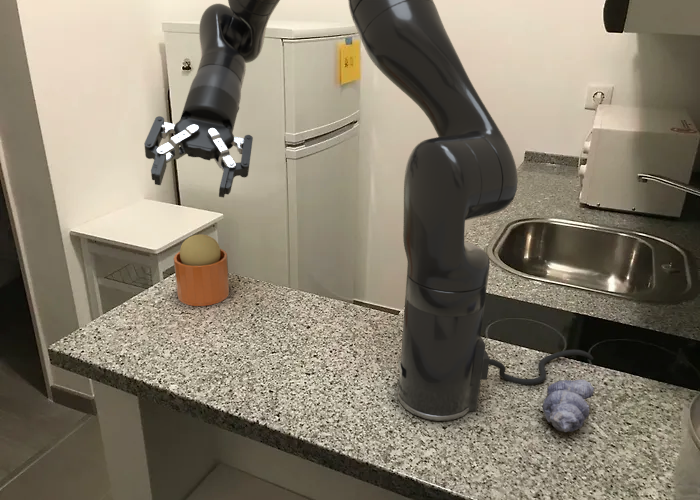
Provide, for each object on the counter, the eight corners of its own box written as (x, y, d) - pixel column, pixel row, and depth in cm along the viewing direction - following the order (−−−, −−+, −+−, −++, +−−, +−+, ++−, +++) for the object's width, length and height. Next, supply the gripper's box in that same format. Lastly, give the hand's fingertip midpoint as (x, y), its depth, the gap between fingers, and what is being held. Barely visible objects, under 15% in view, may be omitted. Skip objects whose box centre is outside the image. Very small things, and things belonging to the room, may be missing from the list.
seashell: (561, 401, 76) (556, 454, 67) (540, 369, 75) (532, 417, 67) (601, 389, 73) (601, 441, 64) (579, 355, 72) (577, 403, 64)
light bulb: (175, 294, 97) (169, 238, 93) (201, 279, 102) (197, 226, 98) (205, 303, 94) (201, 246, 90) (230, 288, 99) (227, 233, 95)
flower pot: (231, 282, 102) (229, 245, 99) (226, 305, 94) (224, 266, 92) (182, 283, 101) (178, 246, 99) (173, 306, 94) (169, 267, 91)
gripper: (163, 73, 83) (132, 159, 74) (263, 95, 85) (244, 180, 76) (165, 111, 89) (137, 194, 80) (258, 130, 91) (240, 213, 82)
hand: (189, 187), depth 78 cm, fingers open, 8 cm apart
